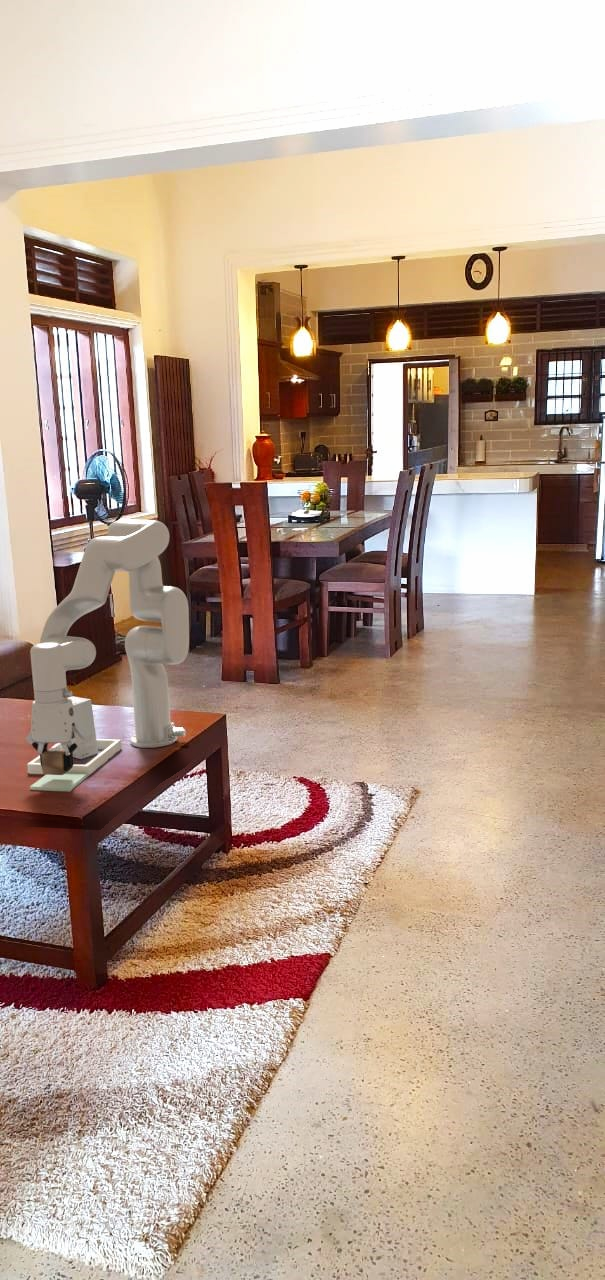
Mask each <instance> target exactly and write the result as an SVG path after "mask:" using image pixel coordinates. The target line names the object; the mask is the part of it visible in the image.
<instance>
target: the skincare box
mask: <svg viewBox="0 0 605 1280" xmlns="http://www.w3.org/2000/svg"><path fill="white" fill-rule="evenodd" d="M68 699H71V700H72V703H73V706H74V710H75V714H76V720H77V726H78V732H79V733H80V734H81V735H82V736H83V738H84V739H85V741H84V742H83V743H81V744H80V745H79V746H78V747H77V748H76V749H75V750H74V752H73V758H76V759H80V760H83V759H86V758H89V757H92V756H95V755H96V756H97V755H98V754H99V749H98V748H97V741H96V739H97V734H96V725H95V719H94V711H93V704H92V699H90V698H84V697H78V696H74V695H72V696H71V697H68ZM71 741H72V744H73V743H74V742H75V741H76V739H75V738H74V739H71ZM62 748H63V747H62Z"/></svg>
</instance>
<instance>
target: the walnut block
mask: <svg viewBox="0 0 605 1280" xmlns="http://www.w3.org/2000/svg"><path fill="white" fill-rule="evenodd" d="M64 755H65V752H64V749H63V748H51V747H50V748H49V749H48V748H47V751H45V752H44V753H42V754H41V757H42V767H43V774H42V775H44V776H45V775H64V774H65V773H66V772H68V771H65V770H64V759H63V756H64ZM71 769H72V768H71Z"/></svg>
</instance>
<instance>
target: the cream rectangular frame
mask: <svg viewBox="0 0 605 1280" xmlns="http://www.w3.org/2000/svg"><path fill="white" fill-rule="evenodd" d="M96 741H97V748H98V750H102V751H101V752H99V753H98V754H96V756H94V757H93V758H92V759H90V760H89V761H88V762H87V763H85V764H76V763H75V764H73V767H72V769H70V770H69V771H68V772H66V773H85V774H87V776H88V777H89V776H90V775H92V774H93V773H94V772H96V770H98V769H99V768H100V767H101V766H102V765H104V764H105V763H107V761H109V760H108V759H109V758H110V759H111V758H112V757H114V756H115V755H116V754H117V753H118V752H119V751H121V750H122V749H121V748H122V740H121V739H114V738H112V739H111V738H110V739H107V738H105V739H104V738H96ZM50 748H62V744H61V743H54V745H52V746H51V747H50ZM120 749H121V750H120ZM117 751H118V752H117ZM116 752H117V753H116ZM115 753H116V754H115ZM114 754H115V755H114ZM26 765H27V766H26V767H27V774H28V773H29V775H44V774H43V770H42V766H41V762H40V755H38V756H37V757H35V758H34V759H32V760H31V761H29V762H28V763H26Z"/></svg>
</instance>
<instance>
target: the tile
mask: <svg viewBox="0 0 605 1280" xmlns="http://www.w3.org/2000/svg"><path fill="white" fill-rule="evenodd" d="M88 777H89V776H87V774H85V773H65V774H64V775H45V774H44V776H42V777H41V778H40V779H38V780H36V781H35V782H34V783H33V784H31V785H30V786H29V791H50V792H71V791H72V790H73V789H74V788H76V787H77V786H78V785H79V784H80V783H82V782H83V781H84V780H85V779H87V778H88Z"/></svg>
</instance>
